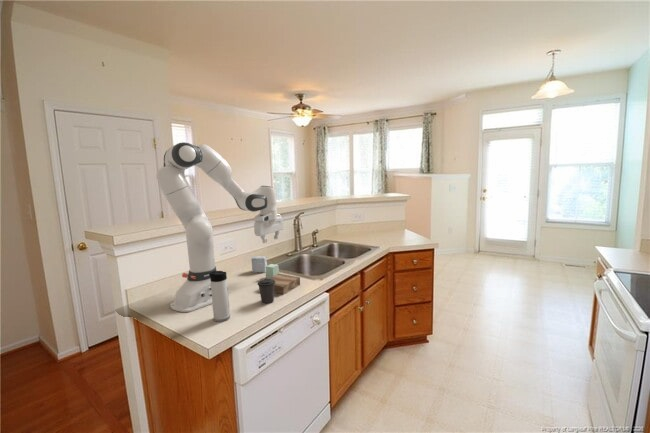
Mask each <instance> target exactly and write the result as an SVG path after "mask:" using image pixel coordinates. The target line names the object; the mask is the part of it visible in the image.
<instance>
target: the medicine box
mask: <svg viewBox="0 0 650 433" xmlns="http://www.w3.org/2000/svg"><path fill="white" fill-rule="evenodd" d="M266 266H268V261H267V256H253V257H252V258H251V269H252V270H251V271H252V272H251V273H266Z"/></svg>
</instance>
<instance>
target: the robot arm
mask: <svg viewBox="0 0 650 433" xmlns="http://www.w3.org/2000/svg"><path fill="white" fill-rule="evenodd" d="M194 166H196V167H197V168H199V169H201V171H202V172H203V173H205V175H207V176H208V177H209V178H210V179H211V180H212V181H214V182H216V183H217V184H218V185H220V186H222V187H223V189H224V190H225V191H227V192H228V194H229V195H231V196H232V198H233V199H234V201H235V204H236V205H237V208H239V209H240V210H242V211H246V212H252V213H255V212H258V211H260V212H259V213H258V214H256V215H255V216H254V217H253V221H254V224H253V228H254V229H253V230H254V231H253V232H254V235H255V236H256V237H260V239H261V240H262V244H266V243H267V241H268V240H267V238H265V237H266V235H268V234H272V233H275V234H274V235H273V239H274V240H278V239H279V234H280V231H282V230H284V227H285V226H284V220H283V217H282V214H280V213H278V209H277V194H276V189H275V188H274V187H273V186H268V185H260V186H259V188H257V189H255V190H254V191H252V192H248V191H246V190H244V189H243V188H242V187H241V186H240V185H239V184H238V183H237V182H236V181H235V180H234V178H233V176H232V174H233V169H232V167H231V166H230V164H229V162H228V161H227V160H226V159H225V158H224V157H223V156H222V155H221V154H220V153H218V151H216V150H215V149H213V147H211V146H209V145H208V144H204V143H202V144H199V145H193V144H191V143H189V142H183V141H182V142H179V143H176V144H174V145H172V146H171V147H169V148H168V149H167V150H166V151H165V153H164V155H163V166H162V167H161V168H159V169H158V170H157V172H156V175H155V176H156V180H157V182H158V185H159V188H160V190H161V191H162V193H163V195H164V197H165V198H166V201H167V202H168V204H169V205H170V207H171V209H172V211H173V212H174V214H175V215H176V217H177V218H178V220H179V222H180V223H181V225H182V226H183V228H184V229H185V238H186V247H187V257H188V264H189V265H188V266H189V270H188V273H186V272H182V274H181V276H182V278H186V280H185V281H184V283H183V284H182V285H181V286H180V287H179V289H177V291H176V293H175V297H174V301H173V302H171V303H170V304H169V307H170V309H172V310H174V311H177V312H181V313H190V312H193V311H195V310H199V309H201V308H204V307H206V306H210V305H213V304H212V293H211V282H210V275H209V273H210V272H213V271H217V266H216V265H215V264H216V263H215V250H214V247H215V246H214V230H213V225H212V224H211V222H210V220H209V218H208V216H207V215H206V213H205V211H204V209H203V207H202V205H201V204H200V202H199V200H198V198H197V196H196V195H195V193H194V191H193V189H192V187H191V185H190V184H189V182H188V180H187V179H186V175H185V172H186V170H188V169H190V168H191V167H194Z"/></svg>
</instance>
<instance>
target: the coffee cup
mask: <svg viewBox="0 0 650 433" xmlns="http://www.w3.org/2000/svg"><path fill="white" fill-rule="evenodd" d="M275 283H276V282H275V280H273V279H266V278H265V279H261V280H259V281H258V282H257V286H258V289H259V295H260V300H261V303H262V304H263V305H268V304H270V305H271V304H273V303H274V300H275V293H274V285H275Z"/></svg>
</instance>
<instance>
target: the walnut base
mask: <svg viewBox="0 0 650 433" xmlns="http://www.w3.org/2000/svg"><path fill="white" fill-rule="evenodd" d="M268 279H273V280H275V282H276V283H275V285H274V294H278V295H282V296H283V295H285V294H287V293H289V292H291V291H292V290H294V289H296V288H298V287H299V286H301V277H299V276H295V275H288V274H284V273H280V272H279V273H278V274H276V275H274V276H272V277H270V278H268Z"/></svg>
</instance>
